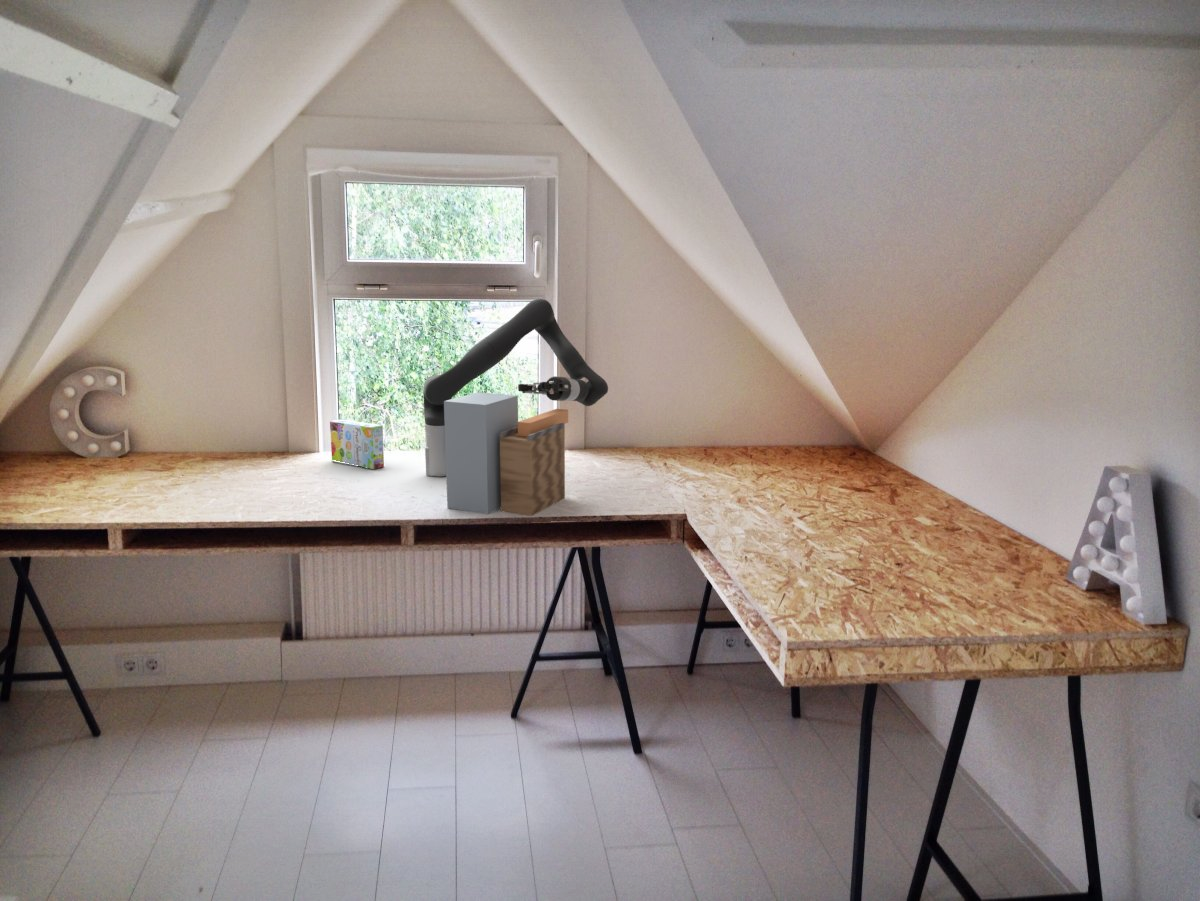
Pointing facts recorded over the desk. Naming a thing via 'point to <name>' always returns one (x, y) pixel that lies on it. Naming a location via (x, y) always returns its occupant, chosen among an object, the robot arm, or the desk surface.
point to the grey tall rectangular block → (476, 449)
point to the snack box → (357, 443)
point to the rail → (542, 421)
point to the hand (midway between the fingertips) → (530, 386)
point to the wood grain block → (532, 469)
